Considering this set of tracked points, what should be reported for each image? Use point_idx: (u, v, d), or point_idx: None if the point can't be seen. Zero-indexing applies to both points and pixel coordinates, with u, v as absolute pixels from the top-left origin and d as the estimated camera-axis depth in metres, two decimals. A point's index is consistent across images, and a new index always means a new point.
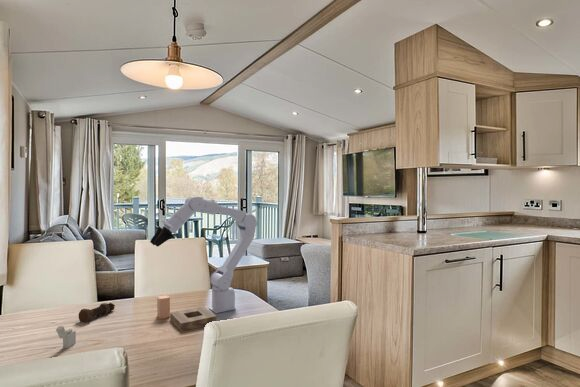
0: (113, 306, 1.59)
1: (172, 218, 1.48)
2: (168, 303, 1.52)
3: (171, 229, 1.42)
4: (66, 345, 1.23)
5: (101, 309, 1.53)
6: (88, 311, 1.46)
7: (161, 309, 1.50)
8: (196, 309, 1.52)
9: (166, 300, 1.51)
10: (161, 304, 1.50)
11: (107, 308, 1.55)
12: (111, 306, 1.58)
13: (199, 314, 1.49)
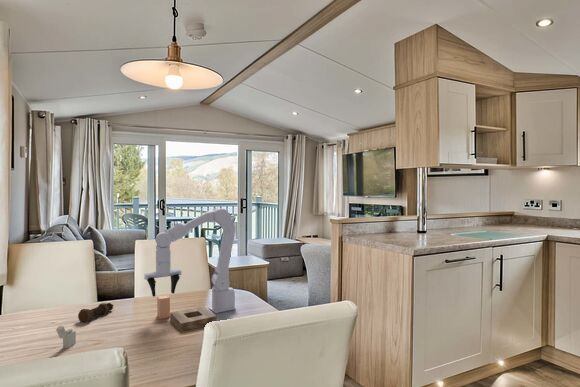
0: (112, 306, 1.59)
1: None
2: (168, 303, 1.52)
3: (144, 277, 1.49)
4: (66, 345, 1.23)
5: (100, 309, 1.53)
6: (88, 311, 1.46)
7: (161, 309, 1.50)
8: (196, 309, 1.52)
9: (166, 300, 1.51)
10: (161, 304, 1.50)
11: (106, 308, 1.55)
12: (110, 306, 1.58)
13: (199, 314, 1.49)
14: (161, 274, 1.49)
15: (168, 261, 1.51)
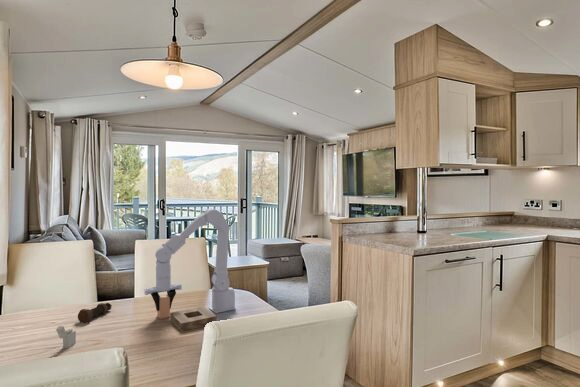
0: (110, 306, 1.59)
1: None
2: (168, 303, 1.52)
3: None
4: (66, 345, 1.23)
5: (99, 309, 1.53)
6: (88, 311, 1.46)
7: (161, 309, 1.50)
8: (196, 309, 1.52)
9: (166, 300, 1.51)
10: (161, 304, 1.50)
11: (105, 308, 1.55)
12: (108, 306, 1.58)
13: (199, 314, 1.49)
14: (161, 289, 1.50)
15: (168, 276, 1.51)
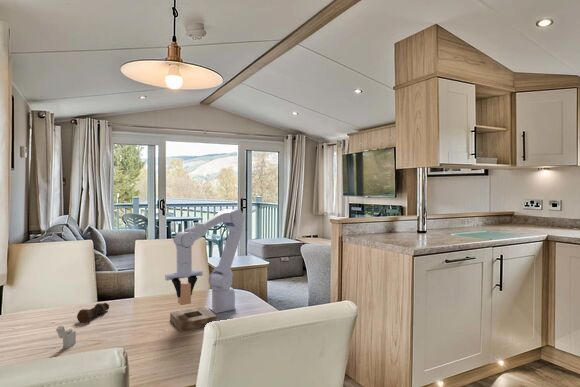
0: (108, 306, 1.59)
1: None
2: (189, 289, 1.47)
3: (165, 278, 1.44)
4: (66, 345, 1.23)
5: (98, 309, 1.53)
6: (88, 311, 1.46)
7: (182, 295, 1.46)
8: (196, 309, 1.52)
9: (187, 286, 1.47)
10: (182, 290, 1.46)
11: (103, 308, 1.55)
12: (106, 306, 1.58)
13: (199, 314, 1.49)
14: (182, 275, 1.45)
15: (191, 261, 1.48)
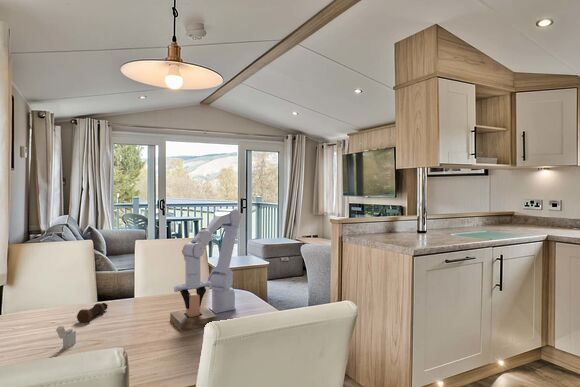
0: (106, 306, 1.59)
1: None
2: (198, 301, 1.46)
3: (174, 289, 1.43)
4: (66, 345, 1.23)
5: (97, 309, 1.53)
6: (88, 311, 1.46)
7: (191, 307, 1.44)
8: None
9: (196, 298, 1.45)
10: (191, 302, 1.44)
11: (102, 308, 1.55)
12: (105, 306, 1.58)
13: None
14: (191, 286, 1.43)
15: None
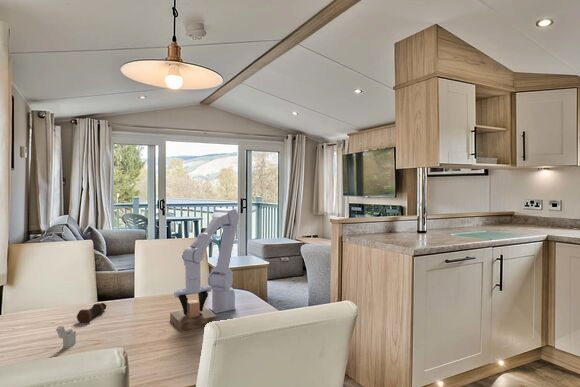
0: (105, 306, 1.59)
1: None
2: (198, 308, 1.46)
3: (174, 294, 1.43)
4: (66, 345, 1.23)
5: (97, 309, 1.53)
6: (88, 311, 1.46)
7: (191, 314, 1.44)
8: None
9: (196, 305, 1.45)
10: (191, 309, 1.44)
11: (102, 308, 1.55)
12: (104, 306, 1.58)
13: None
14: (191, 291, 1.43)
15: None
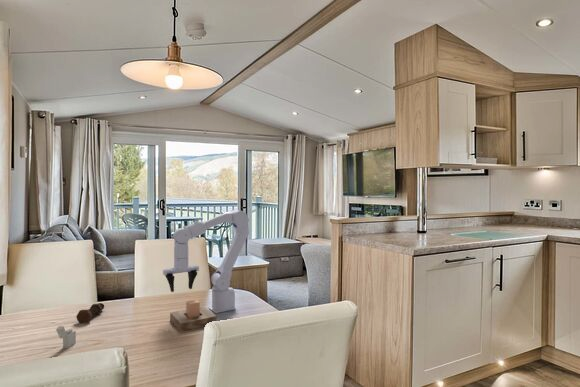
0: (103, 306, 1.59)
1: None
2: (198, 308, 1.46)
3: (163, 273, 1.50)
4: (66, 345, 1.23)
5: (96, 309, 1.53)
6: (88, 311, 1.46)
7: (191, 314, 1.44)
8: None
9: (196, 305, 1.45)
10: (191, 309, 1.44)
11: (100, 308, 1.55)
12: (102, 306, 1.58)
13: None
14: (180, 270, 1.51)
15: (186, 257, 1.53)
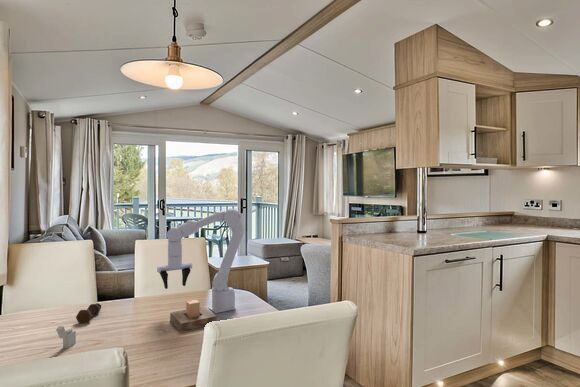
0: (100, 306, 1.59)
1: None
2: (198, 308, 1.46)
3: (157, 270, 1.55)
4: (66, 345, 1.23)
5: (94, 309, 1.53)
6: (88, 311, 1.46)
7: (191, 314, 1.44)
8: None
9: (196, 305, 1.45)
10: (191, 309, 1.44)
11: (98, 308, 1.55)
12: (99, 306, 1.58)
13: None
14: (173, 267, 1.56)
15: (178, 255, 1.57)
